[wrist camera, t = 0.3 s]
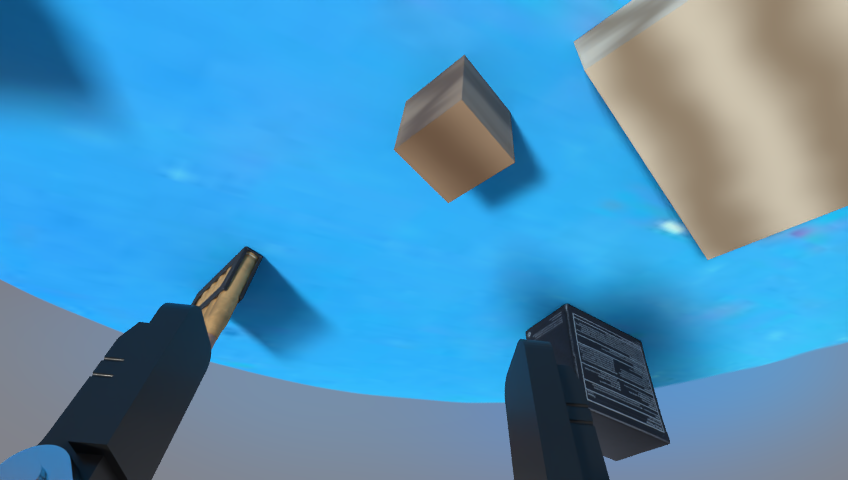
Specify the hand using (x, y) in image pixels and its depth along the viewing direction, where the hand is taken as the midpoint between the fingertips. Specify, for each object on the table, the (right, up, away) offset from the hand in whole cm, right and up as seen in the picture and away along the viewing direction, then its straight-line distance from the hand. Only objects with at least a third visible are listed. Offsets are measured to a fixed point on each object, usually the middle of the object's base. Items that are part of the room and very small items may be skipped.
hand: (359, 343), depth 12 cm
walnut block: (+4, +12, +19) cm, 23 cm away
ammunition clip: (-18, -1, +34) cm, 38 cm away
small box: (+18, -7, +36) cm, 41 cm away
